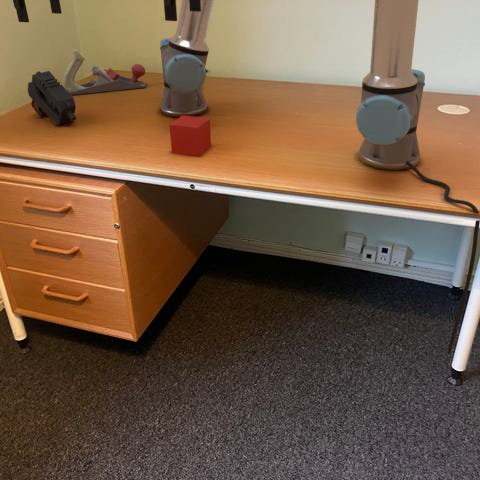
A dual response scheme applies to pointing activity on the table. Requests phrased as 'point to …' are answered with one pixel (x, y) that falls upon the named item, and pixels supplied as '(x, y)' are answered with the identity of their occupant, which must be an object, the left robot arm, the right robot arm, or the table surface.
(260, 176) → the table surface
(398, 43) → the right robot arm
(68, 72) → the hand plane
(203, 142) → the block
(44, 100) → the tool
